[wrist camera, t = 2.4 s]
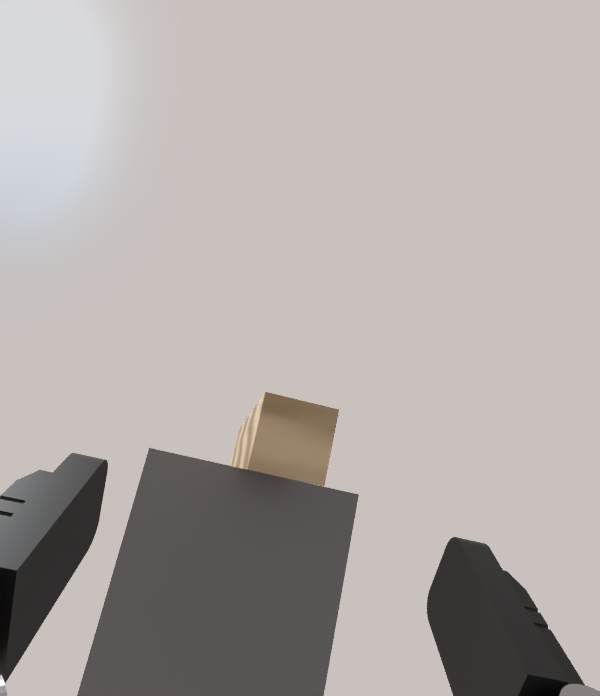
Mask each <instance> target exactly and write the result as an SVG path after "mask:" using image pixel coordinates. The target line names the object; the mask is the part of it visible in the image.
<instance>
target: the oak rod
mask: <svg viewBox="0 0 600 696" xmlns="http://www.w3.org/2000/svg"><path fill="white" fill-rule="evenodd" d="M338 412H339V410H338V409H333V408H330V407H326V406H321V405H317V404H313V403H308V402H305V401H300V400H297V399H292V398H288V397H284V396H280V395H276V394H272V393H267V392H265V394H264V395H263V396H262V398H261V399H260V401H259V402H258V404H257V405H256V407H255V408H254V409H253V411H252V412H251V414H250V415H249V416H248V418H247V419H246V421H245V422H244V423H243V425H242V426H241V428H240V429H239V432H238V437H237V440H236V445H235V448H234V453H233V457H232V461H231V465H230V466H232V467H237V468H241V469H246V470H250V471H255V472H259V473H264V474H268V475H272V476H277V477H281V478H286V479H291V480H295V481H300V482H305V483H310V484H315V485H319V486H324V484H325V479H326V474H327V469H328V463H329V458H330V453H331V448H332V443H333V437H334V433H335V427H336V422H337V417H338Z"/></svg>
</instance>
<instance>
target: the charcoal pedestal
mask: <svg viewBox="0 0 600 696" xmlns="http://www.w3.org/2000/svg"><path fill="white" fill-rule="evenodd" d="M357 501H358V494H353V493H349V492H344V491H340V490H335V489H330V488H326V487H322V486H317V485H313V484H308V483H304V482H299V481H295V480H290V479H286V478H281V477H277V476H272V475H268V474H264V473H259V472H255V471H250V470H246V469H241V468H237V467H232V466H228V465H223V464H218V463H214V462H210V461H205V460H200V459H196V458H192V457H187V456H182V455H178V454H174V453H169V452H165V451H160V450H155V449H151V448H149V451H148V454H147V458H146V462H145V465H144V468H143V472H142V475H141V479H140V482H139V485H138V489H137V492H136V496H135V499H134V503H133V506H132V509H131V513H130V517H129V520H128V523H127V527H126V530H125V534H124V537H123V541H122V544H121V547H120V551H119V554H118V558H117V561H116V565H115V568H114V572H113V575H112V578H111V582H110V585H109V589H108V592H107V596H106V599H105V602H104V606H103V609H102V613H101V616H100V619H99V623H98V627H97V630H96V633H95V637H94V640H93V644H92V647H91V650H90V654H89V657H88V661H87V664H86V668H85V671H84V674H83V678H82V682H81V685H80V688H79V692H78V695H77V696H323V695H324V689H325V684H326V678H327V672H328V667H329V661H330V655H331V649H332V644H333V638H334V632H335V626H336V620H337V615H338V609H339V604H340V598H341V592H342V586H343V581H344V575H345V569H346V563H347V558H348V552H349V547H350V541H351V535H352V529H353V523H354V518H355V512H356V507H357Z"/></svg>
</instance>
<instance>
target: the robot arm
mask: <svg viewBox="0 0 600 696" xmlns="http://www.w3.org/2000/svg"><path fill="white" fill-rule="evenodd" d="M107 469H108V463H107V460H103V459H98V458H94V457H89V456H85V455H80V454H76V453H72V454H70V455H69V456H68V457H67V458H66V459H65V460H64V461H63V462H62V463H61V465H60V466H59V467H58V468H57V469H56V470H55V471H54V472H53V473H51V472H47V471H42V470H38V471H37V472H34V473H32V474H30V475H28V476H25V477H23V478H21V479H19V480H17V481H15V482H14V484H12V485H11V486H10V487H9V488H8V489H7V490H6V491H5V492H4V493H3V494H2V495H1V496H0V696H7V692H6V688H5V683H6V681H7V679H8V678H9V676H10V675H11V673H12V671H13V670H14V668H15V666H16V665H17V663H18V662H19V660H20V659H21V657H22V655H23V654H24V652H25V650H26V649H27V647H28V646H29V644H30V642H31V641H32V639H33V637H34V636H35V634H36V633H37V631H38V630H39V628H40V626H41V625H42V623H43V621H44V620H45V618H46V617H47V615H48V614H49V612H50V610H51V609H52V607H53V605H54V604H55V602H56V601H57V599H58V597H59V596H60V594H61V593H62V591H63V589H64V588H65V586H66V585H67V583H68V581H69V580H70V578H71V577H72V575H73V573H74V572H75V570H76V569H77V567H78V565H79V564H80V562H81V561H82V559H83V557H84V556H85V554H86V553H87V551H88V549H89V547H90V545H91V543H92V541H93V538H94V535H95V533H96V529H97V526H98V522H99V516H100V511H101V504H102V499H103V493H104V487H105V481H106V476H107ZM427 614H428V620H429V623H430V627H431V630H432V632H433V635H434V639H435V641H436V645H437V647H438V650H439V653H440V657H441V660H442V663H443V666H444V669H445V672H446V675H447V678H448V681H449V683H450V687H451V690H452V692H453V696H600V691H597V690H595V689H593V688H591V687H588V686H585V685H584V683H583V681H582V680H581V678H580V677H579V675H578V673H577V672H576V670H575V669H574V667H573V665H572V664H571V662H570V660H569V659H568V657H567V655H566V654H565V652H564V651H563V649H562V648H561V646H560V644H559V643H558V641H557V640H556V638H555V636H554V635H553V633H552V631H551V630H549V629H548V625H547V623H546V622H545V620H544V618H543V617H542V615H541V614H540V613H538V609H537V607H536V606H535V604H534V602H533V601H532V599H531V598H530V596H529V594H528V593H527V591H526V590H525V589H524V588H523V587H522V586H521V585H520V584H519V583H518V582H517V581H516V580H515V579H514V578H513V577H512V576H511V575H510V574H509V573H508V572H507V571H503V570H502V568H501V567H500V565H499V563H498V561H497V560H496V558H495V556H494V555H493V553H492V551H491V550H490V548H489V546H487V545H486V544H484V543H480V542H475V541H470V540H466V539H461V538H457V537H453V538H451V539H450V541H449V542H448V544H447V546H446V548H445V551H444V554H443V557H442V559H441V562H440V564H439V567H438V570H437V572H436V575H435V577H434V580H433V583H432V585H431V588H430V591H429V595H428V602H427Z"/></svg>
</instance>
